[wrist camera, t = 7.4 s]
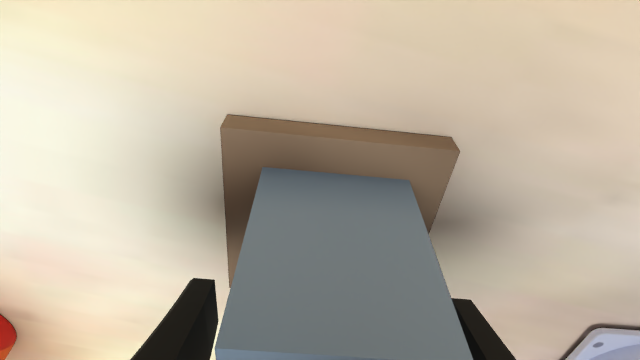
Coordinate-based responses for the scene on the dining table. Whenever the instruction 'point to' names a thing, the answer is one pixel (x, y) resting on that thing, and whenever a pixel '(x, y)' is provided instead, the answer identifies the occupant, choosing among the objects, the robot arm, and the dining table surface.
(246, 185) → the board
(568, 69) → the dining table surface
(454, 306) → the robot arm
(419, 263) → the blue-grey block
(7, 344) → the paper cup
